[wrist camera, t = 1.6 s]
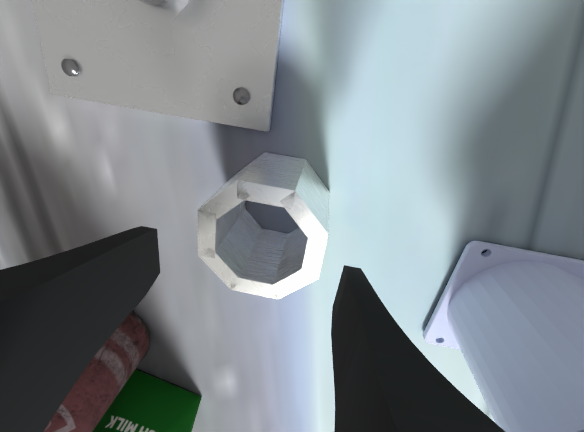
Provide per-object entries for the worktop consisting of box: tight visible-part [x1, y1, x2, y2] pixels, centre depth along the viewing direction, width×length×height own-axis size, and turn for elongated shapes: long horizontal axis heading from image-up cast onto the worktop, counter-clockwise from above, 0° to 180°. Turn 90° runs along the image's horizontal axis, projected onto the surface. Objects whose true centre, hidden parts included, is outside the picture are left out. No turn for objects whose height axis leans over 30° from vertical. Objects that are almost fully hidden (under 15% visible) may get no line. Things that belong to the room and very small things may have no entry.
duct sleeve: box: [198, 152, 330, 299], centre depth 15 cm, size 6×6×5 cm
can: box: [44, 312, 150, 432], centre depth 17 cm, size 6×6×14 cm
